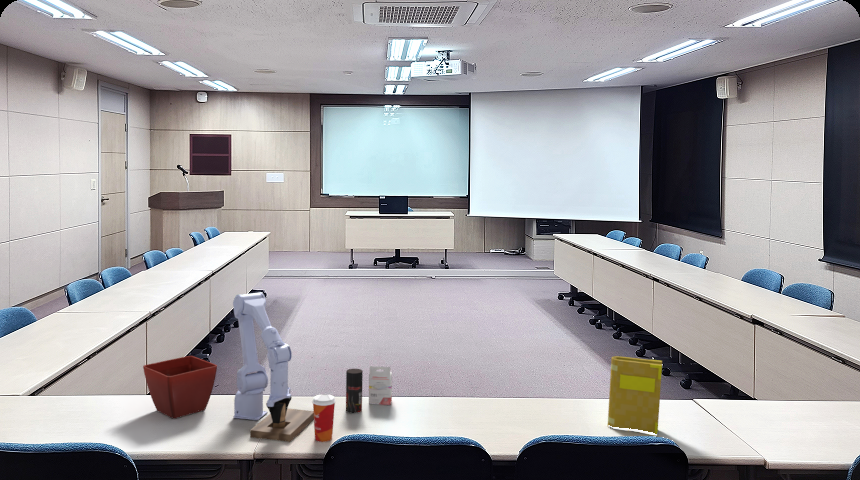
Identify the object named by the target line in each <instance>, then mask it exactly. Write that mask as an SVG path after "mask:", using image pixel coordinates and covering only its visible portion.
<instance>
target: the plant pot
mask: <svg viewBox="0 0 860 480" xmlns="http://www.w3.org/2000/svg"><path fill="white" fill-rule="evenodd" d="M142 368H143V373H144V378H145V381H146V386H147V389H148V391H149V395H150V398H151V400H152V402H153V404H154V406H155V407H154V408H155V409H156V411H157V412H159V413H160V414H163V415H165V416H167V417H169V418H171V419H177V418H181V417H184V416H188V415H192V414H197V413H199V412H200V413H201V412H203V411H206V409H207V407H208V404H209V401H210V398H211V396H212V393H213V388H214V385H215V382H216V376H217V370H218V369H217V368H218V365H217V364H215V363H212V362H209V361H208V360H205V359H201V358H199V357H196V356H194V355H188V356H180V357H178V358H177V357H176V358H171V359H167V360H162V361H158V362H153V363H148V364H144V365H143V367H142Z"/></svg>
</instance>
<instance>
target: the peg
mask: <svg viewBox="0 0 860 480" xmlns="http://www.w3.org/2000/svg"><path fill="white" fill-rule="evenodd" d="M280 404H284V406H283V408H282V411H281V417H280V422H279V424H277V423H273V428H281V429H284V428H285V420H286V419H285V403H280Z"/></svg>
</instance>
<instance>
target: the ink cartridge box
mask: <svg viewBox="0 0 860 480" xmlns="http://www.w3.org/2000/svg"><path fill="white" fill-rule="evenodd" d="M391 369H392V368H391V366H371V365H370V366H369V374H368V404H369V405H382V406H383V405H384V406H385V405H388V406H389V405H392V404H391V403H392V399H393V397H392V396H393V395H392V394H393V372H392V371H391ZM377 370H378V371H377ZM379 370H381V371H379Z"/></svg>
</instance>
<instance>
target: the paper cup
mask: <svg viewBox="0 0 860 480" xmlns="http://www.w3.org/2000/svg"><path fill="white" fill-rule="evenodd" d="M312 398H313V399H312V401H311V402H312V405H313V406H312V407H313V409H312V411H314V419H313V428H314V440H315V442H319V443H320V442H321V443H327V442H330V441H332V440H333V432H334V419H335V417H334V416H335V403H336V402H337V400H336V399H335V396H334V395H332V394H317V395H315V396H314V397H312Z"/></svg>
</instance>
